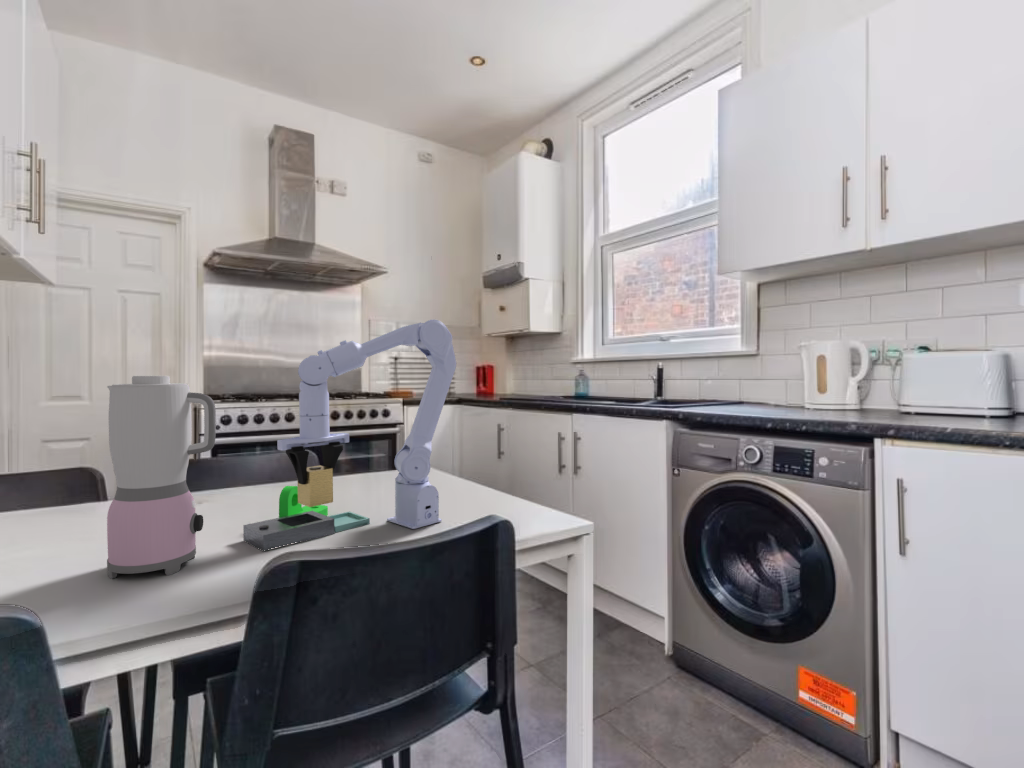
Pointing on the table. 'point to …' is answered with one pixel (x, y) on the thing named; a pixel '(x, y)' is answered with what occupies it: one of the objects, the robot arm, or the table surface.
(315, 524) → the grey slotted block
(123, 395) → the blender
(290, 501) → the mechanical part
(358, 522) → the tray
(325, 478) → the block
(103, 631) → the table surface
